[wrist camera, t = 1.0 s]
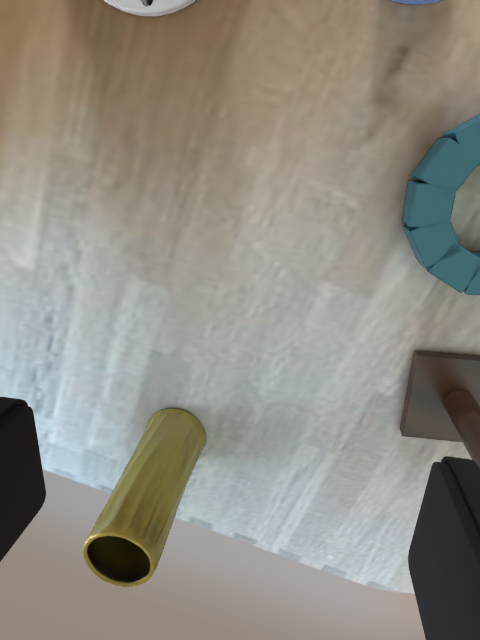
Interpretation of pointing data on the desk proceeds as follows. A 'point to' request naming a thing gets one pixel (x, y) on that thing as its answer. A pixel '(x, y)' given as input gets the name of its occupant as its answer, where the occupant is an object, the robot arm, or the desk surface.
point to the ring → (443, 207)
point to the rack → (444, 399)
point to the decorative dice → (416, 1)
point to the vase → (145, 500)
